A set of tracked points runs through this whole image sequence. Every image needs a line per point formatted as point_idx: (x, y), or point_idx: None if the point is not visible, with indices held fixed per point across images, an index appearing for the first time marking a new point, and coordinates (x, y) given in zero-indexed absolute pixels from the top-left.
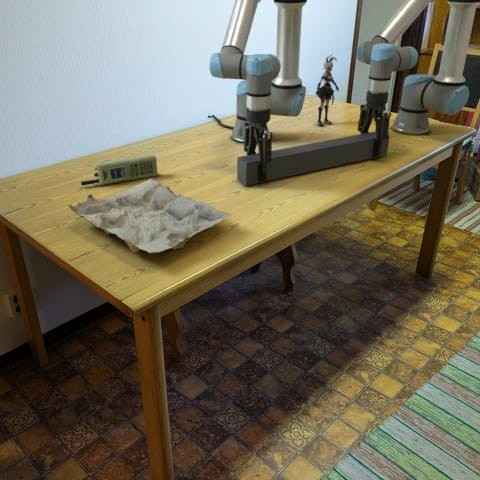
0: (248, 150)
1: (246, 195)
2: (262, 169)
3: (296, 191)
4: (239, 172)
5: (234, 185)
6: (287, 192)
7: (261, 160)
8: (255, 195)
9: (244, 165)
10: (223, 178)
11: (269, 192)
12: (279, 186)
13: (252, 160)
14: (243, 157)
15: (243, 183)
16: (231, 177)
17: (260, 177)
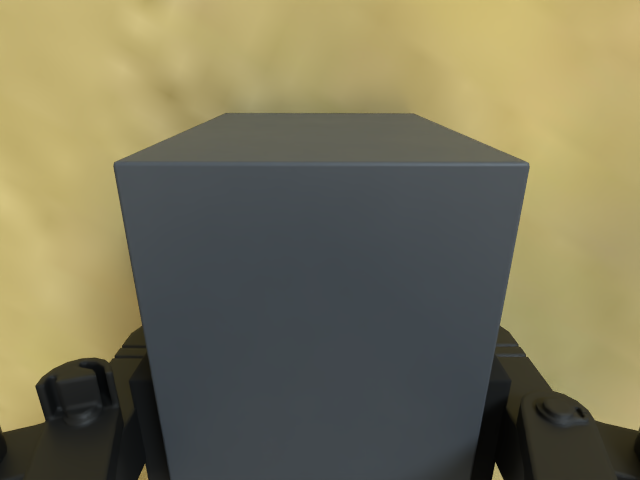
0: (559, 475)
1: (29, 4)
2: (133, 351)
3: (11, 414)
4: (377, 124)
5: (321, 23)
6: (8, 357)
7: (50, 441)
8: (8, 93)
9: (213, 146)
10: (550, 7)
11: (44, 242)
12: None
13: (209, 333)
14: (436, 266)
15: (275, 113)
16: (518, 105)
17: None
